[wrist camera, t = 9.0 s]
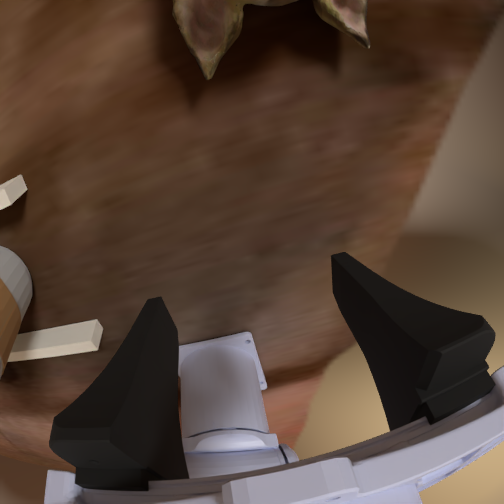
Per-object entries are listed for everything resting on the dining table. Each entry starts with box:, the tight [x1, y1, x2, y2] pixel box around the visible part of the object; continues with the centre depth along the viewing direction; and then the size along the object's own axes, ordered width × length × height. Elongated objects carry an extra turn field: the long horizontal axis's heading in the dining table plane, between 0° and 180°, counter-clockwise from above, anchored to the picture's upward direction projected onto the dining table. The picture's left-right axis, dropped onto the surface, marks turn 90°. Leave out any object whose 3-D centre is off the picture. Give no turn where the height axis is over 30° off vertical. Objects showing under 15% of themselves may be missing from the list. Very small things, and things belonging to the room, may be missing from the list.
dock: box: [0, 175, 103, 362], centre depth 20 cm, size 15×13×2 cm
